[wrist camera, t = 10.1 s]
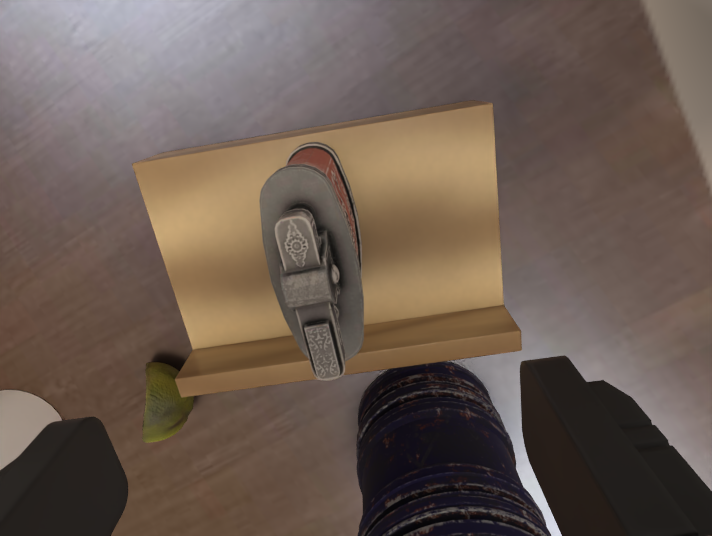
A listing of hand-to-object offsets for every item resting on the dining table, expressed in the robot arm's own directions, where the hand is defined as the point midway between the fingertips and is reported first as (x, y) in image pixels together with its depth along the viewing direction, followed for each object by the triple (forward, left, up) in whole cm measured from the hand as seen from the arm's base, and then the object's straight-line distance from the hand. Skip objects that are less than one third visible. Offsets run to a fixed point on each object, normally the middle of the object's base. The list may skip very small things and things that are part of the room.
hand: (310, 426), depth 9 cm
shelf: (+2, -1, -21) cm, 21 cm away
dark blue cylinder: (+17, +3, -21) cm, 27 cm away
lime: (+11, -14, -21) cm, 27 cm away
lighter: (+1, -1, -17) cm, 17 cm away
